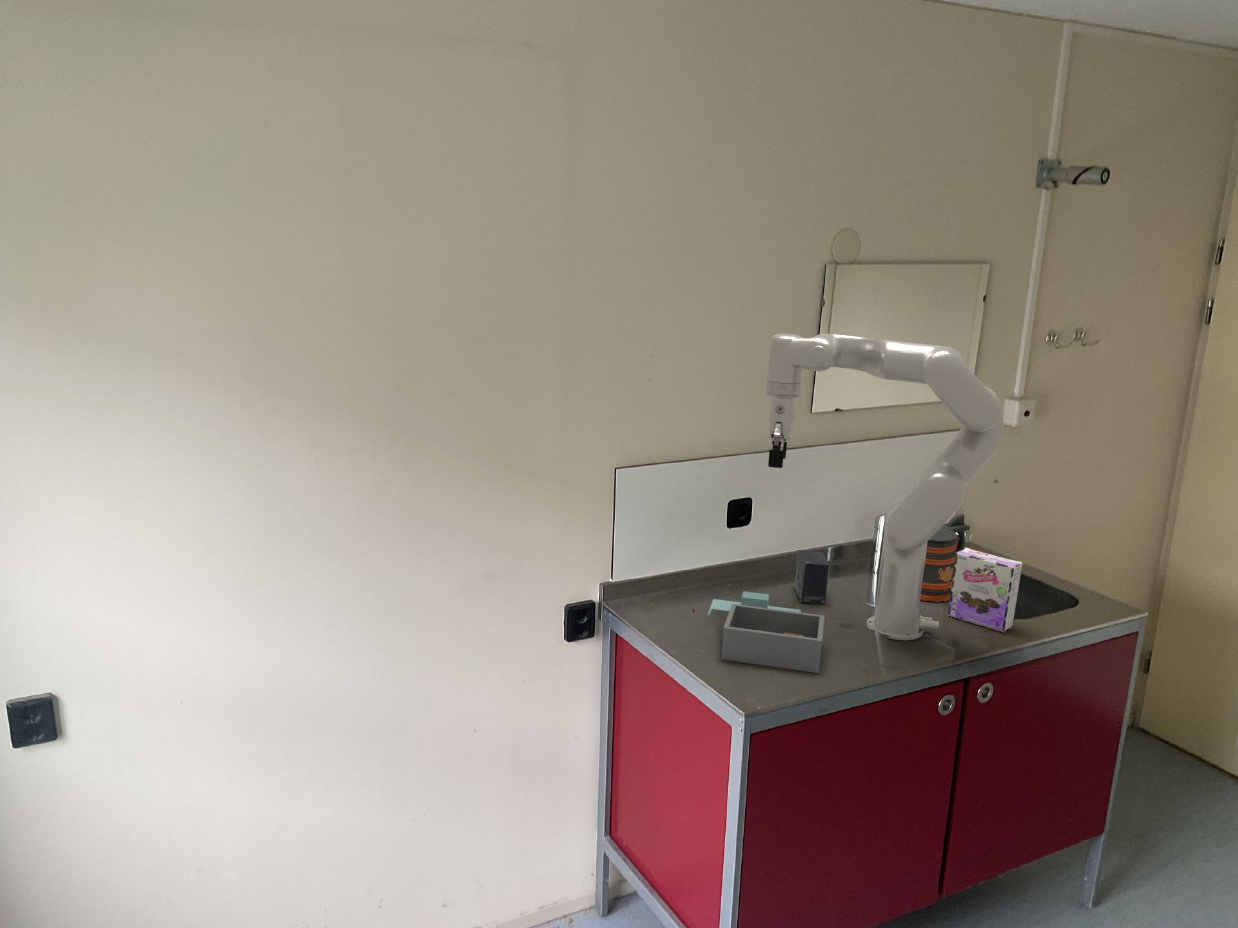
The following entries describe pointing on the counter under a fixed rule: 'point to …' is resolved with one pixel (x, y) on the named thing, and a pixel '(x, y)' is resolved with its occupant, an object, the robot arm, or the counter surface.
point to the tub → (773, 638)
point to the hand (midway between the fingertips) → (777, 462)
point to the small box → (811, 577)
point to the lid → (747, 602)
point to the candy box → (984, 588)
